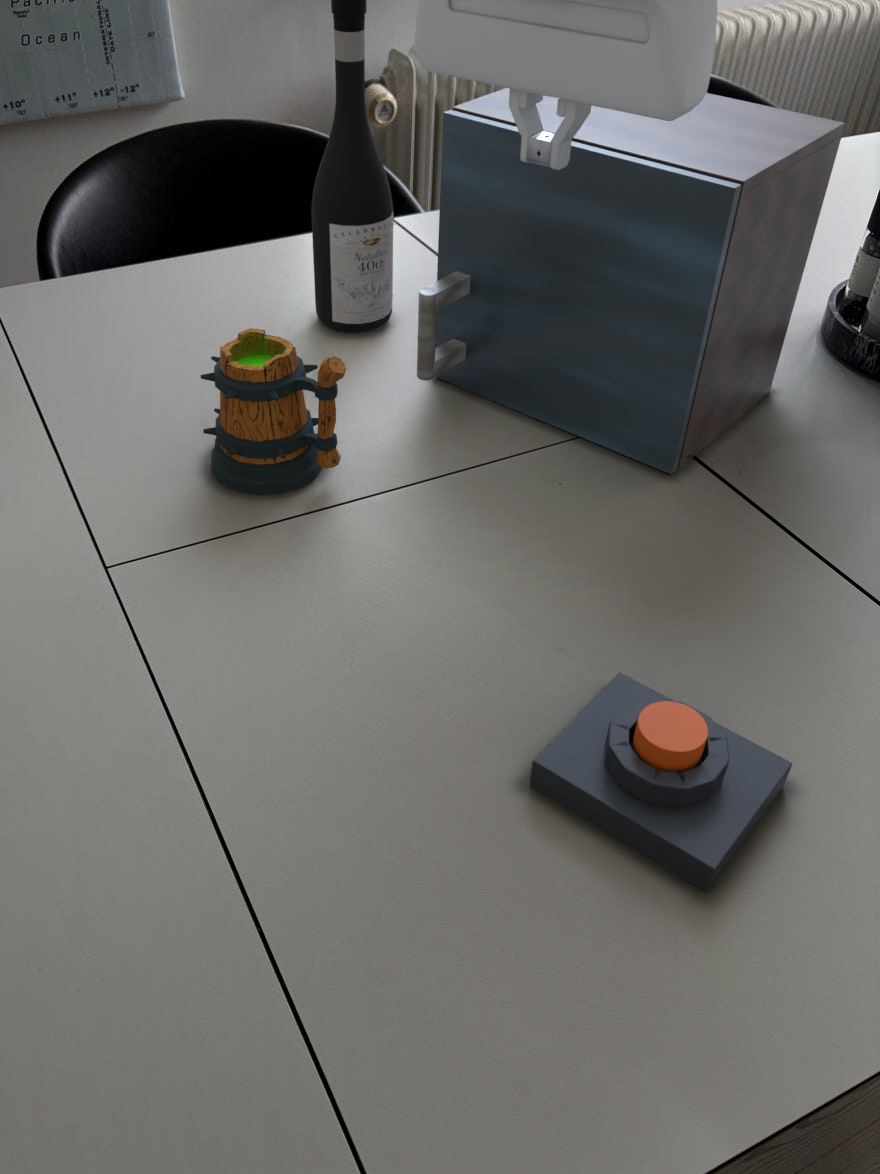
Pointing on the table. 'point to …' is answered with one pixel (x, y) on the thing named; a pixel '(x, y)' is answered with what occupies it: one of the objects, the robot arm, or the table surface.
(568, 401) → the door
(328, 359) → the mug
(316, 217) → the wine bottle
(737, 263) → the cupboard
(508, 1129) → the table surface
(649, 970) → the table surface
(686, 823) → the button block
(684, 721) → the button
